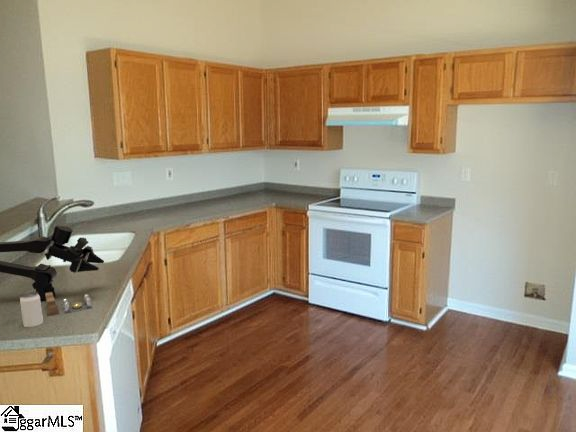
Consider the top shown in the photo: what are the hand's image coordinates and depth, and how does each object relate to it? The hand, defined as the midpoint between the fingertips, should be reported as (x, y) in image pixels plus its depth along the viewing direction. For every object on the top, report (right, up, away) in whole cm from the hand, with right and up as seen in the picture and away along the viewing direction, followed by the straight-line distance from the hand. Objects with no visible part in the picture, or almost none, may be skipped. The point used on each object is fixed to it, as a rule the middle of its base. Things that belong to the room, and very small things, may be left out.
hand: (101, 265), depth 197 cm
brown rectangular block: (-14, -17, -13) cm, 26 cm away
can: (-15, -19, -25) cm, 35 cm away
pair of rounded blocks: (-5, -16, -12) cm, 20 cm away
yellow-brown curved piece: (-5, -16, -12) cm, 20 cm away
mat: (-6, -16, -10) cm, 20 cm away
